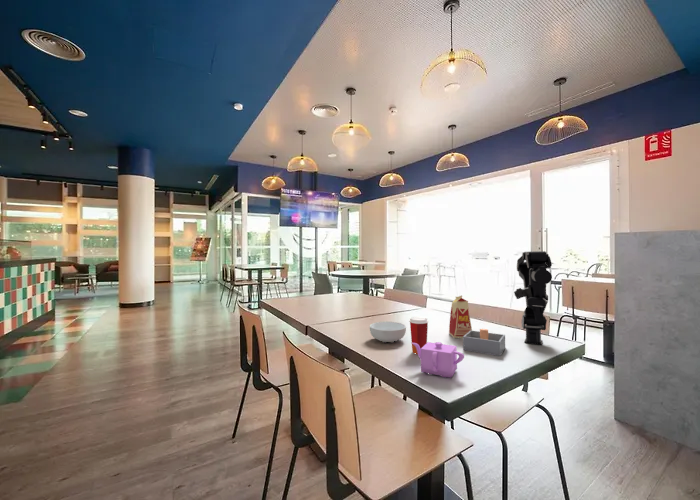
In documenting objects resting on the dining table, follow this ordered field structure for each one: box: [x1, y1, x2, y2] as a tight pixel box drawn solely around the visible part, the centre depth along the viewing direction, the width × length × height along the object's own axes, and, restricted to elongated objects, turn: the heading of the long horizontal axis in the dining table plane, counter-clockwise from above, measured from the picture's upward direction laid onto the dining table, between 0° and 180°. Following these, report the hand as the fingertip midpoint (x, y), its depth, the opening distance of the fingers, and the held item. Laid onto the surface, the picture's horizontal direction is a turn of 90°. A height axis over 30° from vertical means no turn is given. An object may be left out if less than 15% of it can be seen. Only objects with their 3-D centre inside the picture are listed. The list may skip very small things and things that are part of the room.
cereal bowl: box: [369, 321, 407, 343], centre depth 140 cm, size 17×17×7 cm
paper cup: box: [408, 316, 429, 355], centre depth 123 cm, size 8×8×14 cm
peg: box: [479, 328, 489, 340], centre depth 126 cm, size 3×3×8 cm
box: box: [462, 329, 506, 357], centre depth 126 cm, size 12×14×6 cm
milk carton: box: [448, 295, 473, 339], centre depth 146 cm, size 9×9×20 cm
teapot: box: [411, 341, 465, 378], centre depth 103 cm, size 18×14×10 cm
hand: (538, 320), depth 122 cm, fingers open, 9 cm apart
